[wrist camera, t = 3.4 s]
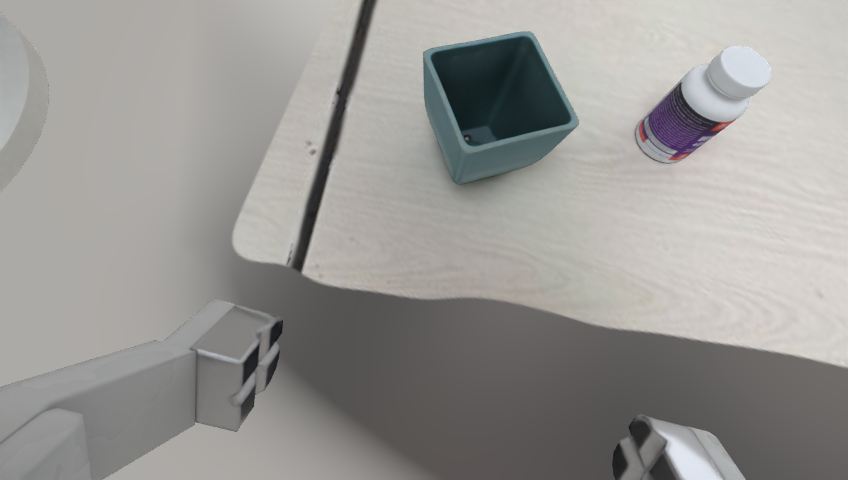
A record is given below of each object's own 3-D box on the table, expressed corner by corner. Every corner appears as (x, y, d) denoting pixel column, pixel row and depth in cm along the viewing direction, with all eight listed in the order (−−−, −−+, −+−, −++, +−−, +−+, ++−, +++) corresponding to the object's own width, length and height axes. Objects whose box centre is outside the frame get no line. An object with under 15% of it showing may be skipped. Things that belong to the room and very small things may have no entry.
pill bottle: (674, 175, 37) (769, 107, 28) (625, 143, 38) (701, 68, 29) (695, 137, 39) (790, 62, 30) (647, 107, 40) (725, 26, 31)
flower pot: (536, 185, 35) (583, 124, 27) (444, 210, 34) (464, 153, 25) (499, 106, 38) (532, 28, 30) (412, 126, 36) (421, 49, 28)
